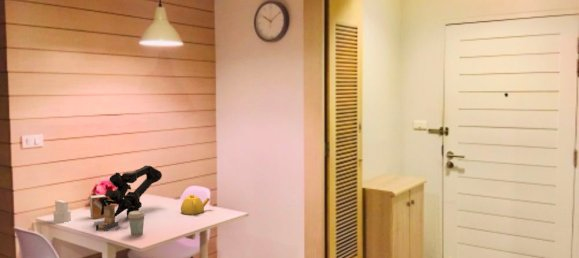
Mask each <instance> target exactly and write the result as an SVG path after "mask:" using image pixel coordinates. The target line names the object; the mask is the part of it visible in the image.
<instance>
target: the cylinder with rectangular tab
mask: <svg viewBox="0 0 579 258" xmlns="http://www.w3.org/2000/svg"><path fill="white" fill-rule="evenodd" d="M54 207H55V210H54V211H53V223H54V222H56V223H55V224H65V223H64V222H67V223H70V222H72V215H71V214H72V211H71V209H69V202H68V201H67V200H63V199H56V200H54ZM69 221H70V222H69Z"/></svg>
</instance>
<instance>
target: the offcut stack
mask: <svg viewBox="0 0 579 258" xmlns="http://www.w3.org/2000/svg"><path fill="white" fill-rule="evenodd" d="M104 226H107V223H101V224H99V227H98V230H97V231H101V232H104V231H103V227H104Z"/></svg>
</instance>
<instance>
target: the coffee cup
mask: <svg viewBox="0 0 579 258" xmlns="http://www.w3.org/2000/svg"><path fill="white" fill-rule="evenodd" d="M145 216H146V214H145V213H144V211H143V210H139V211H132V212H129V215H128V218H129V219H128V218H127V219H128V223H129V229H130V235H131V236H132V237H141V236H142V235H143V234H144V225H145V224H144V222H145Z"/></svg>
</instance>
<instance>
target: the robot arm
mask: <svg viewBox="0 0 579 258" xmlns="http://www.w3.org/2000/svg"><path fill="white" fill-rule="evenodd" d="M143 176H145V177H146V178H145V179H144V180H143V182H141V184H139V186H138V187H136V189H135V190H134V191H129V190H132V187H131V184H134V183H135V182H137V180H138V179H139V178H140V177H143ZM162 177H163V174H162V172H161V171H160V170H158V169H157V168H154V167H153V166H151V165H143V167H140V168H138V169H136V170H134V171H130V172H129V171H128V172H123V173H122V175H121V173H120V172H115V173H114V174H112V175H111V176H110V177H109V182H110V183H111V184H112V185H113V186H114V187H115V188H116V189H115V190H110V189H106V192H105V194H104V195H105V196H106V197H100V199H99V201H100V203H101V204H102V209H101V215H103V214H104V206H107V205H118V207H117V208H116V209H115V214H114V216H115V218H116V217H117V216H119V215H120V214H121V213H122V212H125V211H126V218H127V219H128V220H129V218H128V215H129V212H132V211H140V209H141V208H142V205H143V203H142V202H141V201H140V200H141V197H142V195H143V194H145V192H146V191H147V190H148V189H149V188H150V187H151V185H152V184H154V183H156V182H157V183H158V182H159V181H160V180H161V179H162Z"/></svg>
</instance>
